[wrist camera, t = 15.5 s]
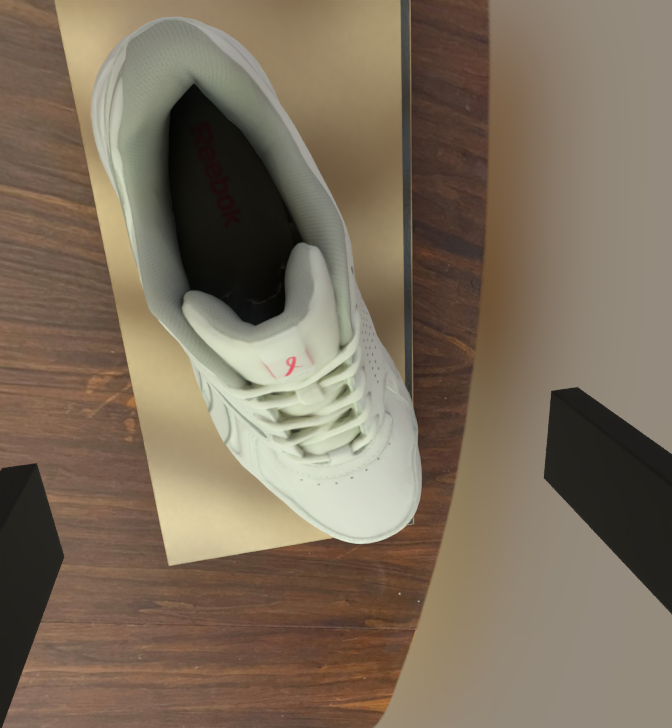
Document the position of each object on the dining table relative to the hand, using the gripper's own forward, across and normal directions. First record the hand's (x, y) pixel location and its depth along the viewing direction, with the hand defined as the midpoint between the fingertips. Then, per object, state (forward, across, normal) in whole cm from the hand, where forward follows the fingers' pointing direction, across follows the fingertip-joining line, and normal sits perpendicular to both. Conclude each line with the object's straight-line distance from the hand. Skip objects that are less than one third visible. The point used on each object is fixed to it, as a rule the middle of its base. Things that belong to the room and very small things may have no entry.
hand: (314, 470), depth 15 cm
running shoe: (+18, 0, -1) cm, 18 cm away
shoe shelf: (+23, 0, -1) cm, 23 cm away
